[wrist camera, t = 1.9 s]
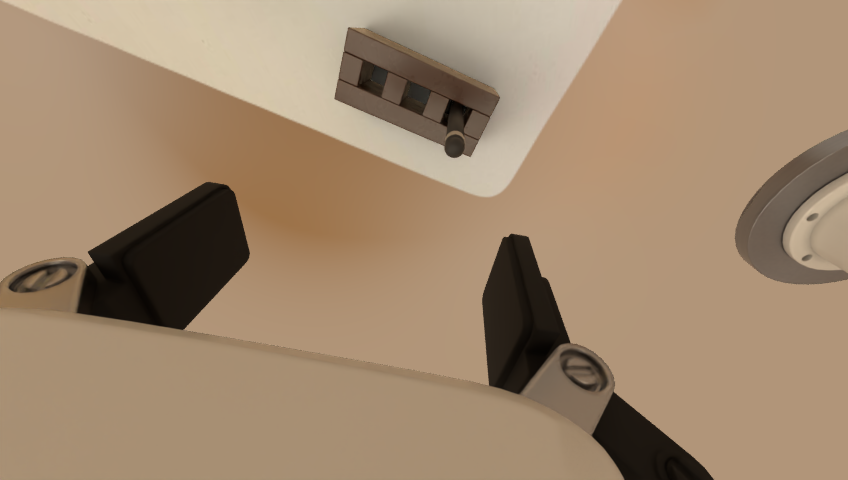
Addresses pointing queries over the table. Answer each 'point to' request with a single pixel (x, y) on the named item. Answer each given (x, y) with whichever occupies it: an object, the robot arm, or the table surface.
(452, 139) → the stylus
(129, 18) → the table surface
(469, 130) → the pen stand
